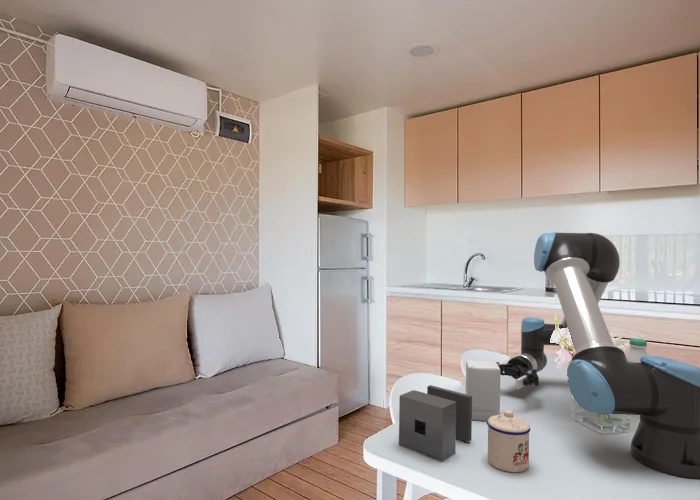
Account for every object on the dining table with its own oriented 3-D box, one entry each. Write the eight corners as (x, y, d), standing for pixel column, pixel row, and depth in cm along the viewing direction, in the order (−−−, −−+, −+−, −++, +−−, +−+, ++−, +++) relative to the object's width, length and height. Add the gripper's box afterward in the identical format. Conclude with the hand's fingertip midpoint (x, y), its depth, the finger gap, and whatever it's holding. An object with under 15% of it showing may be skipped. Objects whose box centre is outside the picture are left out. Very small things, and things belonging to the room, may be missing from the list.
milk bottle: (656, 402, 136) (656, 340, 136) (646, 407, 132) (646, 343, 132) (629, 396, 142) (630, 336, 142) (619, 400, 138) (619, 338, 138)
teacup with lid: (520, 478, 89) (521, 422, 89) (479, 463, 95) (480, 411, 95) (540, 458, 97) (541, 407, 97) (501, 446, 104) (502, 398, 104)
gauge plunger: (471, 440, 105) (472, 395, 105) (452, 452, 98) (452, 405, 98) (421, 423, 115) (422, 383, 115) (401, 434, 108) (402, 391, 108)
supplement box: (500, 423, 118) (501, 369, 118) (467, 420, 119) (467, 366, 120) (496, 411, 127) (496, 361, 127) (465, 408, 128) (465, 359, 128)
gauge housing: (473, 440, 106) (473, 392, 106) (442, 461, 95) (442, 408, 95) (422, 423, 116) (423, 380, 116) (389, 441, 105) (389, 392, 105)
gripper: (560, 385, 137) (537, 402, 121) (487, 370, 154) (458, 382, 138) (560, 362, 137) (537, 375, 121) (487, 349, 154) (458, 360, 138)
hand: (495, 379), depth 130 cm, fingers open, 13 cm apart
